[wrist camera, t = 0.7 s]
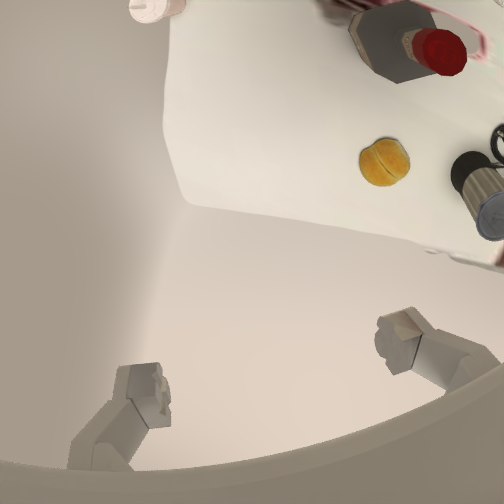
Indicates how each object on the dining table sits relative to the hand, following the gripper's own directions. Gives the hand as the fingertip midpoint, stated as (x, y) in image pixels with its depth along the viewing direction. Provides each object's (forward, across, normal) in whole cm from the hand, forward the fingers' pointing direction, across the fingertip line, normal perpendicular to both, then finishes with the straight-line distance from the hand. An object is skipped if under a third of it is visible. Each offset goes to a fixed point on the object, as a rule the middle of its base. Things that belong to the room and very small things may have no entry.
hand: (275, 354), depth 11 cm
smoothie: (+48, +2, -27) cm, 55 cm away
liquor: (+37, -28, -18) cm, 49 cm away
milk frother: (+32, -48, +2) cm, 58 cm away
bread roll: (+41, -30, +3) cm, 51 cm away
